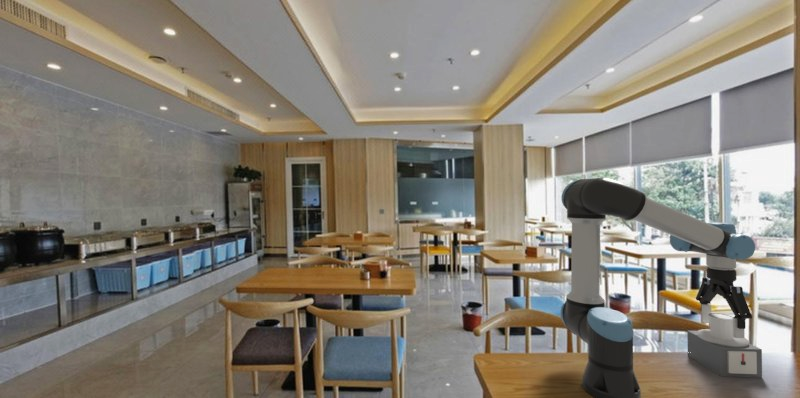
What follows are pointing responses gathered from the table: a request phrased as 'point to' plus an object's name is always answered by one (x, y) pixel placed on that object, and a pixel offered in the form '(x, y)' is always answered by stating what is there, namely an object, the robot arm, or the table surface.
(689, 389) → the table surface
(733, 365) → the dial scale
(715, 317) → the shot glass
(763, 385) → the table surface
